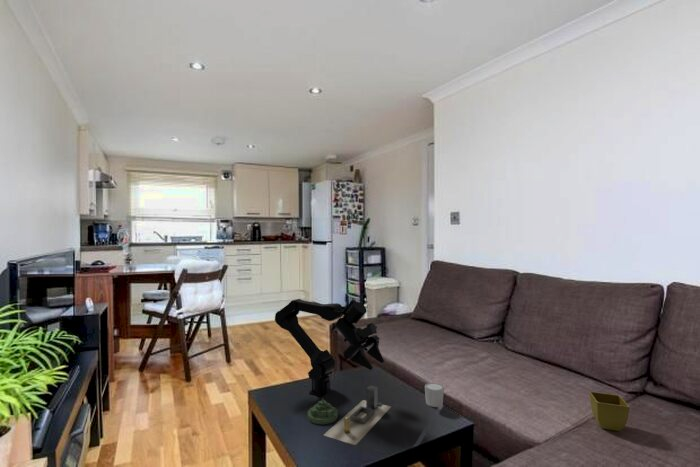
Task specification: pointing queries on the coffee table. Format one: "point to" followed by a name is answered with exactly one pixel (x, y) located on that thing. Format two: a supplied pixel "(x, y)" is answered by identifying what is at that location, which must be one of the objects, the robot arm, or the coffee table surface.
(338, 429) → the tie-down board
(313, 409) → the decorative artifact
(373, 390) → the end link
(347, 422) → the keeper post
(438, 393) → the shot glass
